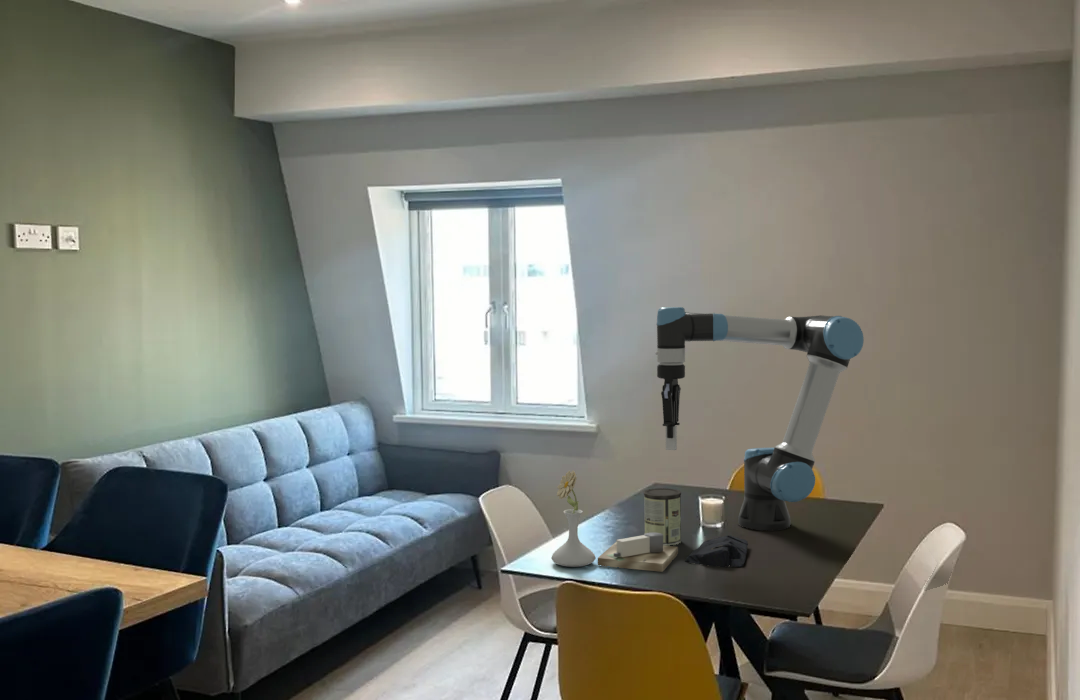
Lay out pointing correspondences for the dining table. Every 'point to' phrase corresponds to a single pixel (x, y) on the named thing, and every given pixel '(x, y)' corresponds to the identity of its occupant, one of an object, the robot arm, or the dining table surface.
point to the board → (639, 559)
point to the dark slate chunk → (720, 552)
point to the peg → (639, 545)
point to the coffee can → (663, 514)
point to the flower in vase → (572, 530)
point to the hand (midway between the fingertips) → (671, 449)
